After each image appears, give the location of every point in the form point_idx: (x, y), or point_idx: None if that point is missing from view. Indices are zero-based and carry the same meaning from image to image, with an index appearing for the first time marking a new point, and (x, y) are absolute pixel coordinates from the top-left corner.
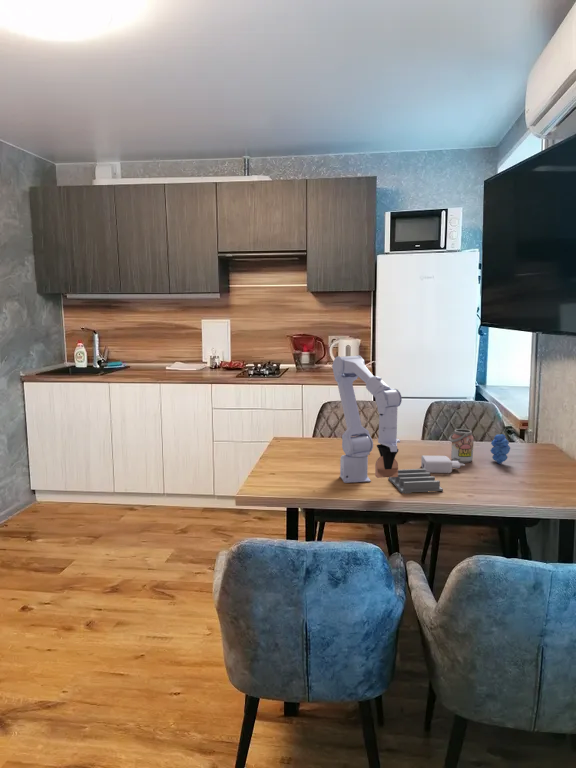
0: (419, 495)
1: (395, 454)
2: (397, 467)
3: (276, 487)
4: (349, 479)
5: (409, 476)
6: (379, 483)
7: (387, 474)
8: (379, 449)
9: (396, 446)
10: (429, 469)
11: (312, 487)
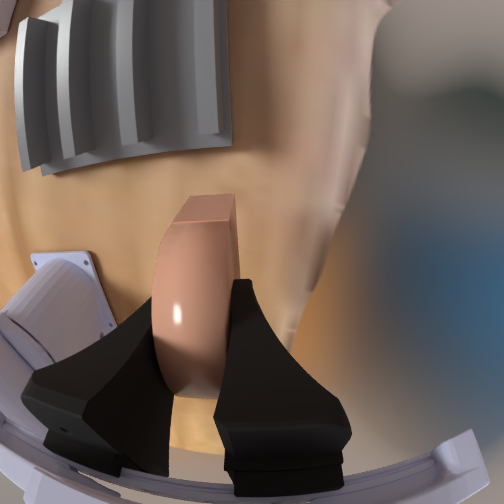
0: (267, 64)
1: (307, 378)
2: (229, 228)
3: (184, 432)
4: (103, 323)
5: (76, 84)
6: (97, 218)
7: (238, 273)
8: (167, 453)
9: (483, 480)
10: (2, 19)
11: (174, 396)
